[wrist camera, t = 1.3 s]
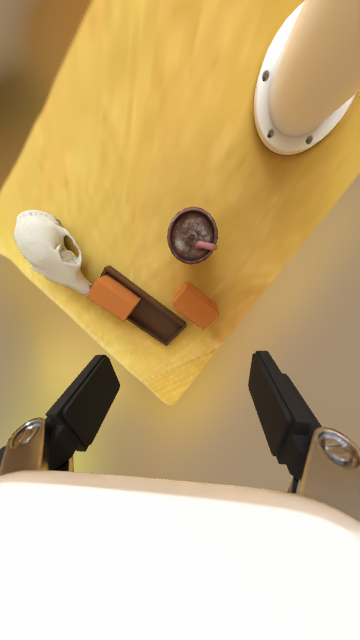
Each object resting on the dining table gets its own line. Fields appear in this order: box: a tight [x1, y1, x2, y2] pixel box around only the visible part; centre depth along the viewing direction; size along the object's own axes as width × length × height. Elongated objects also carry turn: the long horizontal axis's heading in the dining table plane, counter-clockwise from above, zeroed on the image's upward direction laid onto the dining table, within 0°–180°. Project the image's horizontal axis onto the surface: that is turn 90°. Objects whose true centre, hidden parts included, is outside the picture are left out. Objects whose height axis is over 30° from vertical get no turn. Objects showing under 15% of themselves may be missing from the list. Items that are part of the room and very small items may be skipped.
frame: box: [100, 266, 186, 346], centre depth 38 cm, size 8×22×2 cm, turn 52°
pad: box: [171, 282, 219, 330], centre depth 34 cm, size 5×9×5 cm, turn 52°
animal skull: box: [14, 210, 93, 295], centre depth 31 cm, size 10×16×10 cm, turn 17°
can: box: [167, 207, 218, 264], centre depth 24 cm, size 6×6×14 cm
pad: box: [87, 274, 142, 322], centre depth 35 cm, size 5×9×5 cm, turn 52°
